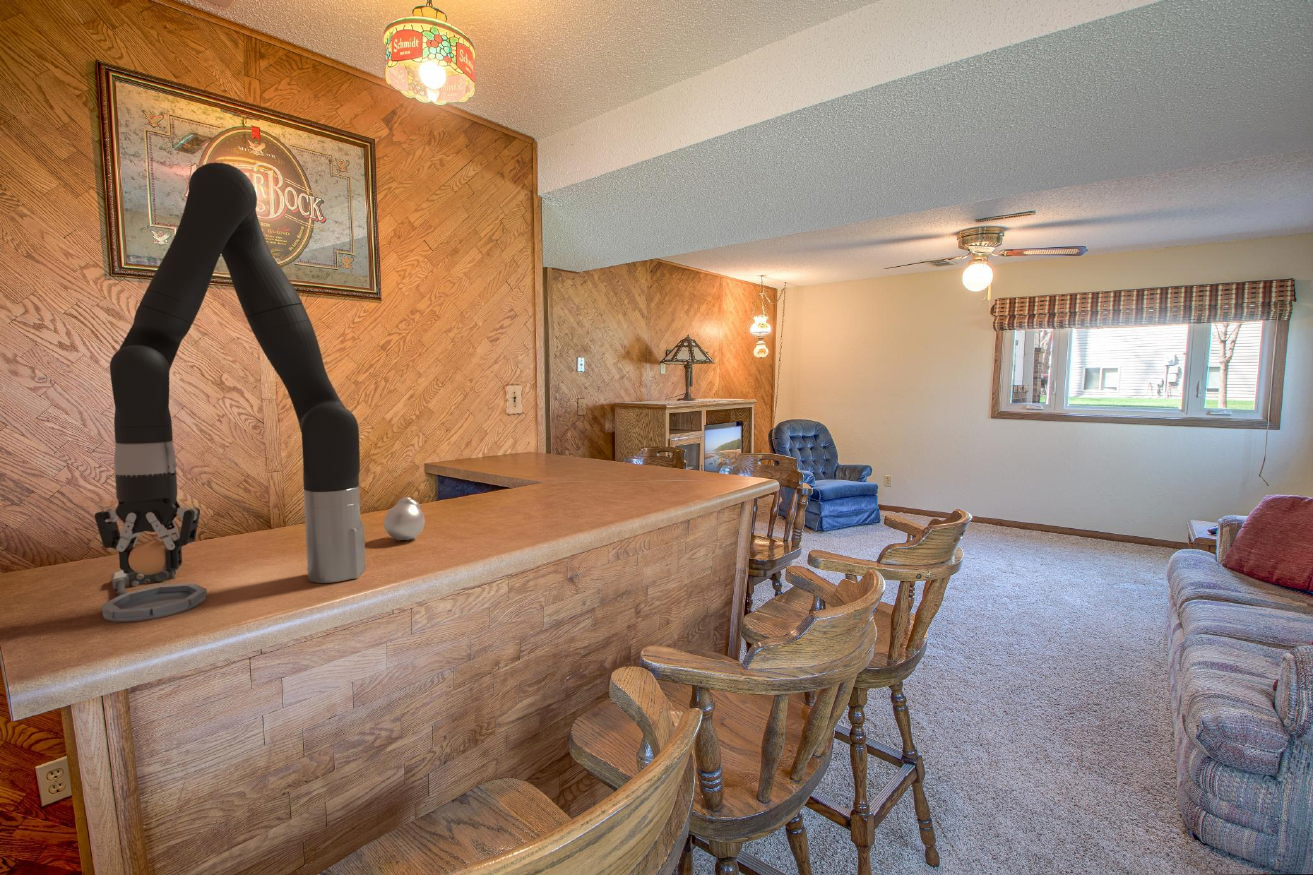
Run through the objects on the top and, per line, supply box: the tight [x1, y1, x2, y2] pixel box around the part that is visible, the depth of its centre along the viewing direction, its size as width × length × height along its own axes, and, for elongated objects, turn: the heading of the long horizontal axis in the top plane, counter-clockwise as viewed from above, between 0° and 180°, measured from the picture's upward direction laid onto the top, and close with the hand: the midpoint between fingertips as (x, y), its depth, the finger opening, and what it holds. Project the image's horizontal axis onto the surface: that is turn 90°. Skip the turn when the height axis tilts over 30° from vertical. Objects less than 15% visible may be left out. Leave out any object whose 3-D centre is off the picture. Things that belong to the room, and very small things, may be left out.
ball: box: [128, 540, 168, 575], centre depth 96 cm, size 6×6×6 cm
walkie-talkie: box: [111, 569, 177, 596], centre depth 109 cm, size 9×4×20 cm
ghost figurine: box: [383, 496, 426, 541], centre depth 139 cm, size 9×10×10 cm
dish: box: [101, 582, 208, 623], centre depth 97 cm, size 13×13×2 cm
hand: (152, 570), depth 97 cm, fingers closed on ball, 5 cm apart
